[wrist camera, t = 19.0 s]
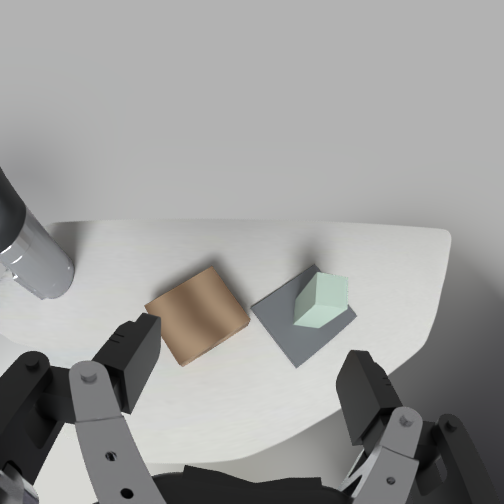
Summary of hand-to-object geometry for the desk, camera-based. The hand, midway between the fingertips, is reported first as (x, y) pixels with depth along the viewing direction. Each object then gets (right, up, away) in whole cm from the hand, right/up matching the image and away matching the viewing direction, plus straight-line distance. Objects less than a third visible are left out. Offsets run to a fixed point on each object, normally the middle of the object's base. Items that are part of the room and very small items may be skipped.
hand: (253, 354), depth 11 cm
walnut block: (-8, -6, +30) cm, 32 cm away
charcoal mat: (+9, -6, +33) cm, 35 cm away
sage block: (+9, -6, +33) cm, 34 cm away
